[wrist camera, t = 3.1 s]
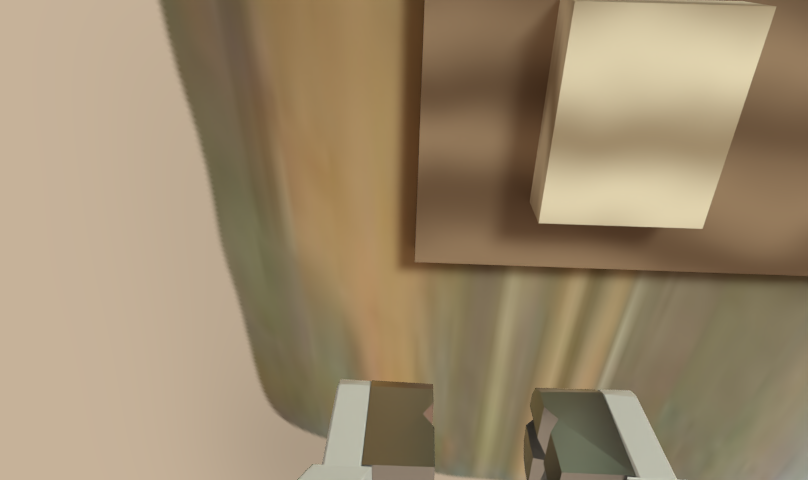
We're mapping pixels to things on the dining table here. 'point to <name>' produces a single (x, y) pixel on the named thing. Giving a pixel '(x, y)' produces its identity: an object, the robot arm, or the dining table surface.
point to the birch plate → (643, 109)
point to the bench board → (518, 143)
